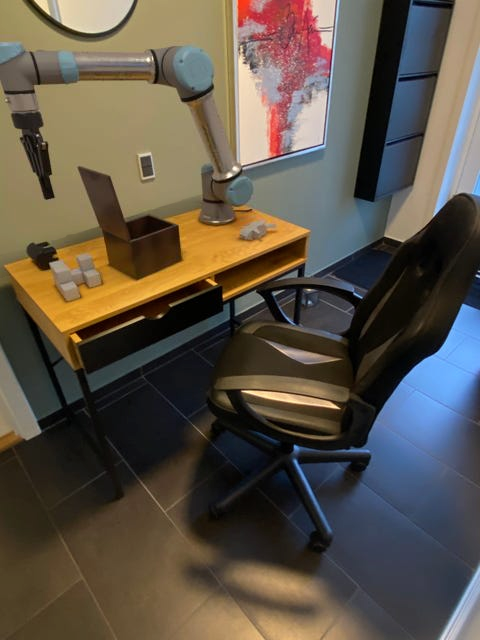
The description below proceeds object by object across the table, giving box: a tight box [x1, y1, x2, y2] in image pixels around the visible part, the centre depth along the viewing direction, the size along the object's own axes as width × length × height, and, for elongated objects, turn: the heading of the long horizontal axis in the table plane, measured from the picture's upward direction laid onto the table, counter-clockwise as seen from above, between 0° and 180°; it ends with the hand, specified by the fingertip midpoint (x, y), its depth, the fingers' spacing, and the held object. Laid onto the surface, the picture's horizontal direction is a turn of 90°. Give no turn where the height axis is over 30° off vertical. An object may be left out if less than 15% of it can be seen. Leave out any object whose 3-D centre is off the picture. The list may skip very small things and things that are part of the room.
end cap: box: [25, 241, 60, 270], centre depth 135 cm, size 10×7×7 cm
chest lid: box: [76, 165, 131, 241], centre depth 117 cm, size 20×16×1 cm
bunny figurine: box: [238, 218, 277, 242], centre depth 155 cm, size 10×5×15 cm
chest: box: [101, 213, 183, 281], centre depth 134 cm, size 19×16×13 cm
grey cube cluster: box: [49, 252, 103, 302], centre depth 121 cm, size 12×12×8 cm
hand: (49, 198), depth 121 cm, fingers closed
